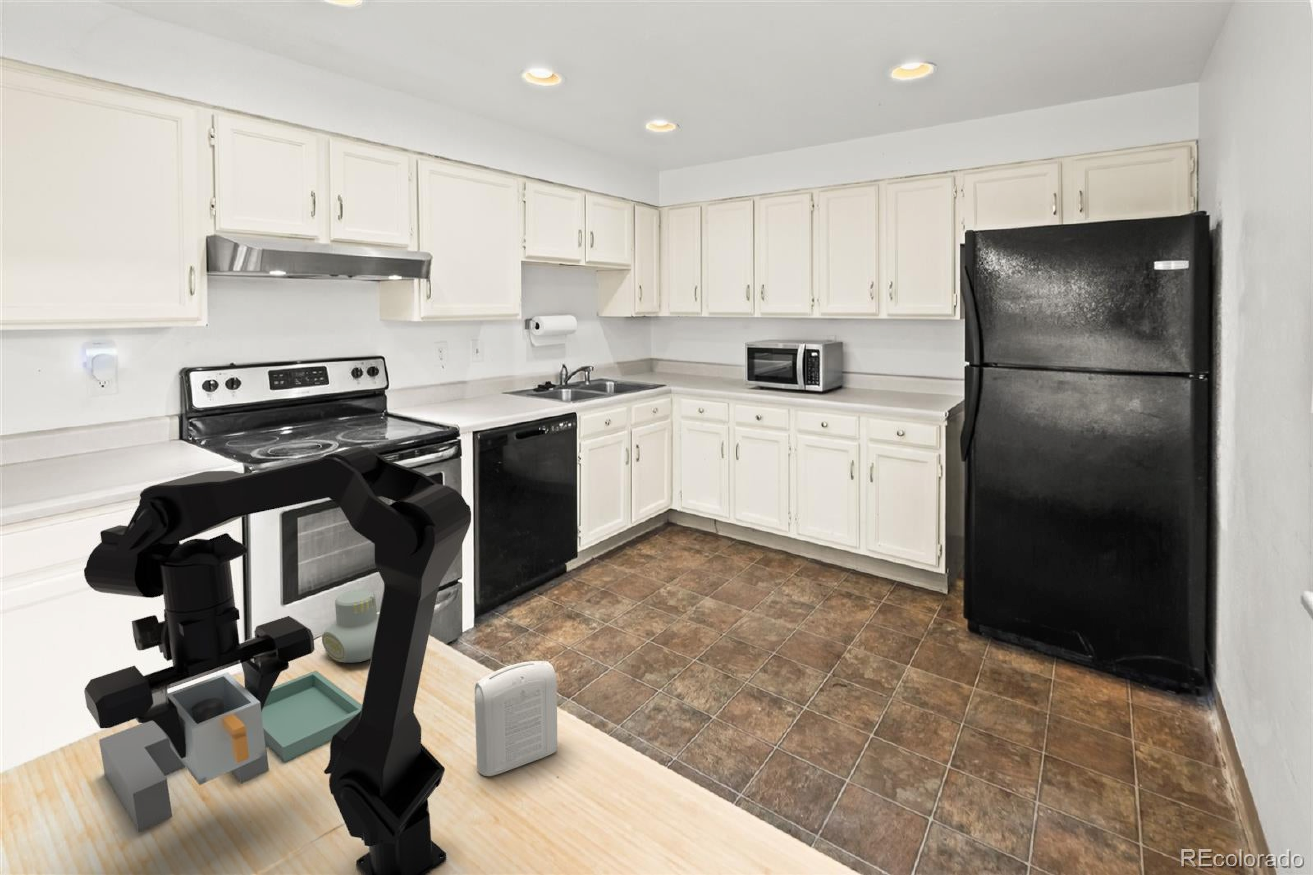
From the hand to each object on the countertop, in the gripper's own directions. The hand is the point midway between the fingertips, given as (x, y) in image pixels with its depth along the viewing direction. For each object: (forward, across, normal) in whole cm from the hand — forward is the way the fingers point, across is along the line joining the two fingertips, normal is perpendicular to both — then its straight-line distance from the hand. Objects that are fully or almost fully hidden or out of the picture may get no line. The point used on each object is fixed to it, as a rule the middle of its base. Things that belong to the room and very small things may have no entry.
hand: (218, 741), depth 70 cm
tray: (+11, -14, -14) cm, 22 cm away
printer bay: (+11, 0, -13) cm, 17 cm away
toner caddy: (+1, 0, +1) cm, 2 cm away
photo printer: (+11, -28, +14) cm, 33 cm away
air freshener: (+11, -28, -26) cm, 39 cm away
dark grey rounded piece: (+1, 0, -2) cm, 2 cm away
